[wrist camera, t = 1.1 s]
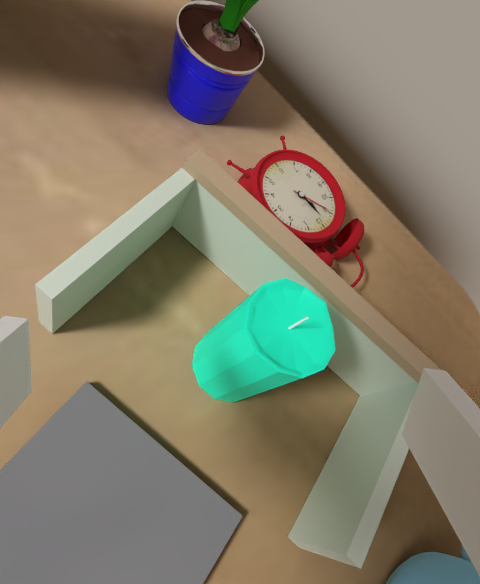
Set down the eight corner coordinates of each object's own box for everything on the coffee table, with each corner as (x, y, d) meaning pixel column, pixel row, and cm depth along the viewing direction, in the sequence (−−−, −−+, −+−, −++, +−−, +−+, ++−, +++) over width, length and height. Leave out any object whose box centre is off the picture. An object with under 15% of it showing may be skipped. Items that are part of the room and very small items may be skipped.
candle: (247, 416, 32) (339, 392, 22) (179, 381, 31) (241, 339, 21) (272, 348, 35) (362, 300, 25) (210, 314, 34) (278, 248, 23)
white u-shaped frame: (39, 322, 28) (34, 277, 22) (172, 207, 36) (199, 147, 29) (299, 547, 30) (372, 572, 23) (375, 392, 37) (447, 375, 30)
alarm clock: (292, 123, 41) (415, 225, 37) (273, 172, 46) (378, 266, 42) (213, 158, 35) (347, 283, 31) (201, 210, 40) (315, 322, 37)
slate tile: (-121, 595, 21) (-126, 600, 20) (85, 383, 28) (86, 381, 28) (90, 764, 22) (91, 773, 21) (238, 514, 29) (242, 516, 28)
